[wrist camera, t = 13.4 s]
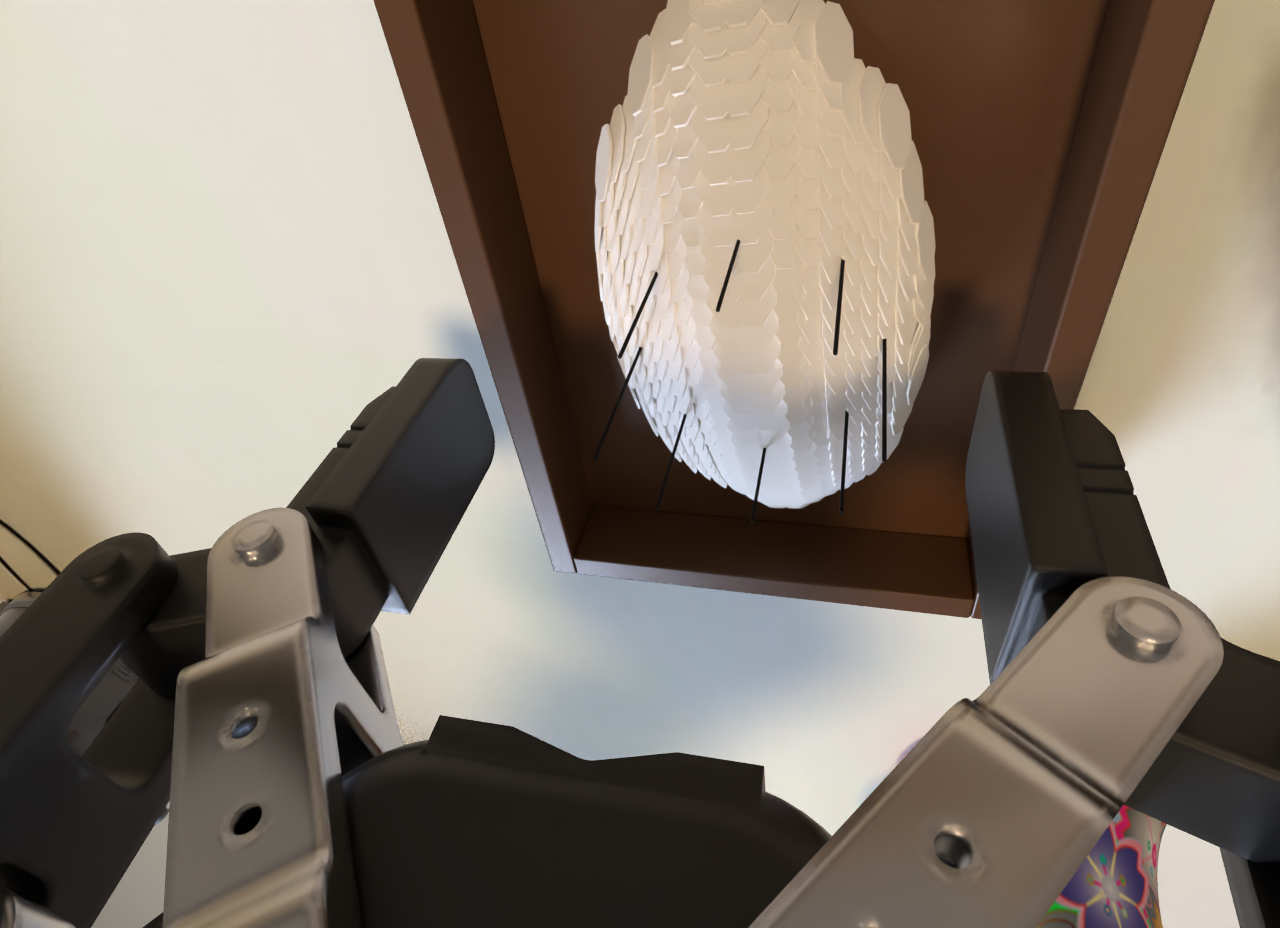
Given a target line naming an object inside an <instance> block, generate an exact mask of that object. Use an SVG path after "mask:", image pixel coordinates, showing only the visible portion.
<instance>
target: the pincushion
mask: <svg viewBox="0 0 1280 928" xmlns="http://www.w3.org/2000/svg"><path fill="white" fill-rule="evenodd" d="M595 186H596V201H595V229H594V234H595V251H596V259H597V270H598V280H599V290H600V299H601V301H602V302H603V308H604V314H605V320H606V323H607V325H608V327H609V333H610V337H611V341H612V342H613V344H614V347H615V349H616V352H617V355H618V356H617V358H618V361H619V364H620V366H621V369H622V371H623V374H624V376H625V379H626V380H625V383H624V385H623V387H622V390H621V392H620V395H619V397H618V399H617V402H616V404H615V407H614V409H613V411H612V414H611V416H610V419H609V421H608V423H607V426H606V428H605V430H604V433H603V435H602V438H601V440H600V442H599V445H598V447H597V450H596V452H595V454H594V457H593V459H592V460H593V461H594V462H595V461H596V460H597V457H598V455H599V452H600V450H601V448H602V445H603V443H604V440H605V438H606V435H607V433H608V431H609V428H610V426H611V423H612V421H613V418H614V416H615V414H616V411H617V409H618V406H619V404H620V401H621V399H622V397H623V394H624V392H625V389H626V387H627V384H628V386H629V388H630V391H631V393H632V396H633V398H634V400H635V403H636V405H637V407H638V409H640V405H639V402H640V404H641V407H642V409H643V411H644V413H645V416H646V418H647V420H648V422H649V424H650V426H651V428H652V430H653V432H654V433H655V435H656V436H659V435H660V436H661V438H662V439H663V441H664V443H665V444H666V446H667V447H668V448H669V450H670V451H671V452H672V455H671V458H670V461H669V465H668V468H667V471H666V475H665V478H664V481H663V484H662V488H661V491H660V494H659V497H658V501H657V504H656V507H655V510H654V513H657V512H658V509H659V506H660V502H661V499H662V496H663V492H664V489H665V486H666V482H667V479H668V476H669V473H670V469H671V466H672V463H673V459H674V456H675V458H676V459H677V460H678V461H679V462H681V461H682V459H683V460H684V461H685V463H686V464H687V465H688V466H689V467H690V469H691V470H692V471H693V472H694V473H695V474H696V473H697V469H698V470H699V472H700V473H702V474H703V476H704V477H706V478H707V479H708V480H710V479H711V477H712V478H713V479H714V481H715V482H717V483H718V484H719V485H720V486H722V487H724V488H725V489H726V487H727V484H728V485H729V486H730V487H731V488H732V489H733V490H735V491H737V492H739V493H741V494H745V495H746V496H748V497H749V498H750V499H752V500H754V503H753V509H752V514H751V520H750V522H751V523H754V518H755V512H756V506H757V501H759V502H761V503H763V504H764V505H766V506H768V507H771V508H786V507H787V508H792V509H801V508H804V507H806V506H808V505H810V504H811V503H816V502H819V501H820V500H821V499H823V498H824V497H825V496H829V495H831V494H834V493H836V492H837V491H838V490H840V507H839V513H840V514H843V508H844V490H845V489H846V488H848V487H850V486H851V484H852V483H853V482H855V483H856V482H858V481H860V480H862V479H863V478H864V477H865V476H866V475H868V476H869V475H871V474H872V473H874V472H875V471H876V470H877V469H878V467H879V466H880V464H881V463H882V462H886V461H887V459H888V458H889V456H890V455H891V454H892V452H893V451H894V449H895V448H896V447H897V445H898V444H899V441H900V438H901V435H902V433H903V430H904V428H903V427H904V425H905V423H906V421H907V419H908V417H909V415H910V413H911V411H912V407H913V403H914V400H915V399H916V396H917V394H918V391H919V389H920V387H921V384H922V382H923V379H924V376H925V372H926V368H927V364H928V359H929V349H928V346H929V341H930V328H931V319H930V315H931V309H932V303H933V297H934V288H933V286H934V280H935V260H934V256H935V247H936V246H935V233H934V221H933V216H932V213H931V211H930V208H929V206H928V203H927V201H924V187H923V173H922V165H921V162H920V159H919V156H918V153H917V150H916V147H915V144H914V141H912V138H911V125H910V112H909V109H908V107H907V105H906V102H905V100H904V98H903V96H902V93H901V91H900V89H899V86H898V85H897V84H892V83H887V84H886V82H885V80H884V78H883V76H882V74H881V72H880V69H879V68H876V67H870V66H868V67H867V68H866V67H865V65H864V63H863V61H862V59H856V58H854V46H853V30H852V28H851V26H850V24H849V22H848V20H847V18H846V16H845V14H844V12H843V10H842V8H841V6H840V4H837V3H833V2H829V1H827V3H826V4H825V3H824V1H823V0H668V1H667V7H666V9H664V10H663V11H662V12H660V13H659V14H658V16H657V19H656V21H655V24H654V26H653V29H652V31H651V34H650V36H648V35H647V34H646V35H645V36H643V37H642V38H641V39H640V40H639V42H638V45H637V48H636V51H635V54H634V57H633V60H632V63H631V66H630V70H629V82H628V93H627V95H626V96H625V99H624V103H623V106H622V105H620V104H619V105H617V106H616V107H615V108H614V110H613V114H612V118H611V122H610V126H609V124H605V125H604V126H603V127H602V130H601V134H600V139H599V143H598V148H597V153H596V171H595ZM614 335H615V337H616V339H615V337H614ZM616 341H617V342H616ZM633 389H634V390H635V392H636V394H637V397H638V399H639V402H638V400H637V397H636V395H635V392H634V390H633ZM658 433H659V435H658ZM681 457H682V459H681Z"/></svg>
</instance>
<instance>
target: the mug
mask: <svg viewBox="0 0 1280 928" xmlns="http://www.w3.org/2000/svg"><path fill="white" fill-rule="evenodd" d="M1165 827H1166V823H1164V822H1162V821H1159V820H1157V819H1155V818H1152V817H1150V816H1148V815H1146V814H1143V813H1141V812H1139V811H1136V810H1134V809H1132V808H1130V807H1127V806H1125V805H1123V806H1122V808H1121V809H1120V811H1119V812H1118V813H1117V815H1116V816H1115V818H1114V819H1113V821H1112V822H1111V823H1110V825H1109V826H1108V828H1107V829H1106V830H1105V832H1104V833H1103V835H1102V836H1101V837H1100V839H1099V840H1098V842H1097V843H1096V844H1095V846H1094V847H1093V849H1092V850H1091V852H1090V853H1089V854H1088V856H1087V857H1086V859H1085V860H1084V861H1083V863H1082V864H1081V866H1080V867H1079V868H1078V870H1077V871H1076V873H1075V874H1074V875H1073V877H1072V878H1071V880H1070V881H1069V883H1068V884H1067V885H1066V887H1065V888H1064V890H1063V891H1062V892H1061V894H1060V895H1059V897H1058V898H1057V899H1056V901H1055V902H1054V904H1053V905H1052V907H1051V908H1050V909H1049V911H1048V912H1047V914H1046V915H1045V916H1044V918H1043V919H1042V921H1041V922H1040V923H1039V925H1038V926H1037V928H1163V926H1162V921H1161V915H1160V908H1159V899H1158V883H1157V868H1158V854H1159V848H1160V843H1161V839H1162V835H1163V832H1164V830H1165Z"/></svg>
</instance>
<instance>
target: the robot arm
mask: <svg viewBox="0 0 1280 928" xmlns="http://www.w3.org/2000/svg"><path fill="white" fill-rule="evenodd" d="M494 447H495V439H494V432H493V428H492V425H491V422H490V419H489V416H488V413H487V411H486V408H485V405H484V402H483V399H482V396H481V393H480V390H479V387H478V385H477V382H476V379H475V376H474V373H473V370H472V368H471V366H470V364H469V363H468V362H467V361H466V360H464V359H438V358H421V359H418V360H417V361H416V362H415V363H414V364H413V365H412V367H411V368H410V369H409V371H408V372H407V373H406V375H405V376H404V377H403V378H402V380H401V381H400V382H399V384H398V385H397V386H396V387H391V388H390V389H388V390H387V391H386V392H384V393H383V394H382V395H380V396H379V397H377V398H376V399H375V400H373V401H372V402H370V403H369V404H368V405H367V406H366V407H365V408H364V409H363V411H362V412H361V413H360V415H359V416H358V417H357V418H356V420H355V421H354V422H353V424H352V425H351V430H347V431H346V432H345V434H344V435H343V436H342V438H341V439H340V440H339V441H338V443H337V448H333V449H332V450H331V452H330V453H329V454H328V455H327V457H326V458H325V459H324V460H323V462H322V463H321V464H320V466H319V467H318V468H317V469H316V471H315V472H314V473H313V474H312V476H311V477H310V478H309V480H308V481H307V482H306V483H305V485H304V486H303V487H302V488H301V490H300V491H299V492H298V494H297V495H296V496H295V497H294V499H293V500H292V501H291V503H290V504H289V505H288V506H287V508H273V509H268V510H264V511H261V512H257V513H255V514H253V515H250V516H248V517H246V518H244V519H242V520H241V521H239V522H237V523H236V524H234V525H233V526H232V527H230V528H229V529H228V530H227V531H225V532H224V533H223V534H222V535H221V536H220V537H219V539H218V540H217V541H216V542H215V544H214V545H213V547H212V548H210V549H205V550H199V551H194V552H188V553H183V554H177V555H172V556H169V555H168V554H167V553H166V552H165V551H164V549H163V548H162V547H161V546H160V545H159V544H158V542H157V541H156V540H155V539H154V538H153V537H152V536H150V535H148V534H145V533H127V534H122V535H118V536H115V537H112V538H109V539H107V540H104V541H102V542H100V543H98V544H96V545H94V546H93V547H91V548H89V549H88V550H86V551H85V552H83V553H82V554H80V555H79V556H78V557H77V558H75V559H74V560H73V561H72V562H71V563H70V564H69V565H68V566H67V567H66V568H65V569H64V570H63V571H62V572H61V573H60V574H59V575H58V576H57V577H56V578H55V579H54V581H53V582H52V583H51V584H50V585H49V586H48V587H47V588H46V589H45V590H44V591H43V592H25V593H22V594H19V595H18V596H17V597H16V598H15V599H13V600H12V601H11V602H1V603H0V928H91V926H92V925H93V923H94V922H95V920H96V918H97V917H98V915H99V913H100V912H101V910H102V909H103V907H104V906H105V904H106V902H107V901H108V899H109V897H110V896H111V894H112V893H113V891H114V889H115V888H116V886H117V885H118V883H119V881H120V880H121V878H122V877H123V875H124V873H125V872H126V870H127V868H128V867H129V865H130V864H131V862H132V860H133V859H134V857H135V856H136V854H137V852H138V851H139V849H140V847H141V846H142V844H143V843H144V841H145V839H146V838H147V836H148V835H149V833H150V831H151V830H152V828H153V826H154V825H155V823H156V822H157V820H158V818H159V817H160V815H161V814H162V812H163V810H164V809H165V807H166V806H167V804H168V802H169V801H170V806H169V824H168V842H167V861H166V878H165V897H164V912H163V913H161V914H160V915H159V916H158V917H156V918H155V919H153V920H152V921H151V922H149V923H148V924H147V925H146V926H144V927H143V928H1037V926H1038V925H1039V923H1040V922H1041V921H1042V919H1043V918H1044V916H1045V915H1046V914H1047V912H1048V911H1049V909H1050V908H1051V907H1052V905H1053V904H1054V902H1055V901H1056V899H1057V898H1058V897H1059V895H1060V894H1061V892H1062V891H1063V890H1064V888H1065V887H1066V885H1067V884H1068V883H1069V881H1070V880H1071V878H1072V877H1073V875H1074V874H1075V873H1076V871H1077V870H1078V868H1079V867H1080V866H1081V864H1082V863H1083V861H1084V860H1085V859H1086V857H1087V856H1088V854H1089V853H1090V852H1091V850H1092V849H1093V847H1094V846H1095V844H1096V843H1097V842H1098V840H1099V839H1100V837H1101V836H1102V835H1103V833H1104V832H1105V830H1106V829H1107V828H1108V826H1109V825H1110V823H1111V822H1112V821H1113V819H1114V818H1115V816H1116V815H1117V813H1118V812H1119V811H1120V809H1121V808H1122V806H1123V805H1125V806H1127V807H1130V808H1132V809H1134V810H1136V811H1139V812H1141V813H1143V814H1146V815H1148V816H1150V817H1152V818H1155V819H1157V820H1159V821H1162V822H1164V823H1166V824H1168V825H1171V826H1173V827H1175V828H1177V829H1180V830H1182V831H1184V832H1187V833H1189V834H1191V835H1193V836H1196V837H1198V838H1200V839H1203V840H1205V841H1207V842H1209V843H1212V844H1214V845H1216V846H1218V847H1220V851H1221V855H1222V859H1223V863H1224V867H1225V871H1226V874H1227V878H1228V882H1229V886H1230V890H1231V894H1232V898H1233V902H1234V906H1235V910H1236V913H1237V917H1238V921H1239V925H1240V928H1280V661H1277V660H1274V659H1271V658H1268V657H1265V656H1262V655H1259V654H1256V653H1253V652H1251V651H1248V650H1245V649H1243V648H1240V647H1238V646H1236V645H1234V644H1232V643H1230V642H1228V641H1226V640H1224V639H1222V638H1221V637H1220V635H1219V633H1218V631H1217V629H1216V628H1215V626H1214V624H1213V623H1212V622H1211V620H1210V619H1209V618H1208V617H1207V616H1206V614H1205V613H1203V612H1202V611H1201V610H1200V609H1199V608H1198V607H1197V606H1196V605H1195V604H1193V603H1192V602H1191V601H1189V600H1188V599H1186V598H1185V597H1183V596H1182V595H1180V594H1178V593H1176V592H1175V591H1173V590H1171V588H1170V586H1169V584H1168V581H1167V579H1166V576H1165V573H1164V570H1163V568H1162V565H1161V562H1160V559H1159V557H1158V554H1157V551H1156V548H1155V546H1154V543H1153V540H1152V537H1151V535H1150V532H1149V529H1148V526H1147V524H1146V521H1145V518H1144V515H1143V512H1142V510H1141V507H1140V504H1139V501H1138V499H1137V496H1136V495H1134V494H1133V491H1134V488H1133V485H1132V482H1131V479H1130V477H1129V474H1128V471H1125V463H1124V460H1123V457H1122V455H1121V452H1120V449H1119V446H1118V443H1117V441H1116V438H1115V436H1114V435H1113V434H1112V433H1111V432H1110V431H1109V430H1108V429H1107V428H1106V427H1105V426H1104V425H1103V424H1102V423H1101V422H1100V421H1099V420H1098V419H1097V418H1096V417H1095V416H1094V415H1093V414H1092V413H1091V412H1090V411H1089V410H1069V409H1060V407H1059V404H1058V401H1057V397H1056V394H1055V390H1054V387H1053V383H1052V380H1051V377H1050V375H1049V373H1047V372H1015V371H988V372H987V374H986V376H985V379H984V382H983V386H982V391H981V395H980V400H979V404H978V409H977V414H976V418H975V423H974V427H973V432H972V436H971V441H970V445H969V450H968V455H967V462H966V474H965V491H966V501H967V509H968V516H969V524H970V532H971V540H972V547H973V555H974V563H975V570H976V578H977V586H978V594H979V601H980V609H981V617H982V624H983V632H984V640H985V648H986V655H987V663H988V671H989V678H990V686H989V687H988V688H987V689H986V690H985V691H984V692H983V693H982V694H981V695H980V696H979V697H978V698H977V699H976V700H974V701H971V700H969V699H967V698H965V699H962V700H961V701H959V702H958V703H956V704H955V705H954V706H953V707H952V708H950V709H949V710H948V711H947V712H946V713H945V714H944V715H943V716H942V717H941V719H940V720H939V721H938V722H937V723H936V724H935V725H934V726H933V727H932V728H931V729H930V731H929V732H928V733H927V734H926V735H925V736H924V737H923V738H922V739H921V740H920V741H919V742H918V744H917V745H916V746H915V747H914V748H913V749H912V750H911V751H910V752H909V753H908V754H907V756H906V757H905V758H904V759H903V760H902V761H901V762H900V763H899V764H898V765H897V766H896V767H895V769H894V770H893V771H892V772H891V773H890V774H889V775H888V776H887V777H886V778H885V779H884V781H883V782H882V783H881V784H880V785H879V786H878V787H877V788H876V789H875V790H874V791H873V792H872V794H871V795H870V796H869V797H868V798H867V799H866V800H865V801H864V802H863V803H862V804H861V805H860V807H859V808H858V809H857V810H856V811H855V812H854V813H853V814H852V815H851V816H850V817H849V819H848V820H847V821H846V822H845V823H844V824H843V825H842V826H841V827H840V828H839V829H838V830H837V832H836V833H835V834H834V835H833V836H831V835H830V834H829V833H828V832H827V831H826V830H825V829H824V828H823V827H821V826H820V825H819V824H818V823H816V822H815V821H814V820H813V819H811V818H810V817H809V816H808V815H806V814H805V813H804V812H802V811H800V810H799V809H797V808H796V807H794V806H792V805H791V804H789V803H787V802H786V801H784V800H782V799H780V798H778V797H776V796H774V795H772V794H769V793H767V792H765V777H764V766H760V765H754V764H747V763H741V762H735V761H728V760H722V759H715V758H709V757H703V756H696V755H690V754H684V753H667V754H657V755H647V756H637V757H626V758H616V759H606V760H596V761H589V760H583V759H580V758H578V757H576V756H573V755H571V754H569V753H567V752H565V751H563V750H561V749H559V748H557V747H554V746H552V745H550V744H548V743H546V742H544V741H542V740H540V739H538V738H535V737H533V736H531V735H529V734H527V733H525V732H523V731H521V730H519V729H516V728H514V727H511V726H505V725H499V724H492V723H486V722H480V721H473V720H467V719H460V718H454V717H448V716H441V715H440V716H439V718H438V721H437V723H436V725H435V727H434V729H433V732H432V734H431V736H430V738H429V740H424V741H419V742H415V743H411V744H407V745H405V744H404V741H403V739H402V736H401V734H400V731H399V728H398V724H397V720H396V715H395V710H394V705H393V700H392V696H391V691H390V686H389V681H388V676H387V672H386V667H385V662H384V657H383V652H382V648H381V643H380V638H379V635H378V632H377V630H376V629H375V627H374V625H373V623H374V621H375V620H376V618H377V616H378V614H379V613H380V611H386V612H395V613H403V614H410V613H411V611H412V609H413V607H414V605H415V603H416V602H417V600H418V598H419V596H420V594H421V592H422V590H423V589H424V587H425V585H426V583H427V581H428V579H429V578H430V576H431V574H432V572H433V570H434V568H435V566H436V565H437V563H438V561H439V559H440V557H441V555H442V554H443V552H444V550H445V548H446V546H447V544H448V542H449V541H450V539H451V537H452V535H453V533H454V531H455V530H456V528H457V526H458V524H459V522H460V520H461V518H462V517H463V515H464V513H465V511H466V509H467V507H468V506H469V504H470V502H471V500H472V498H473V496H474V495H475V493H476V491H477V489H478V487H479V485H480V483H481V482H482V480H483V478H484V476H485V474H486V472H487V471H488V469H489V467H490V465H491V462H492V459H493V455H494Z"/></svg>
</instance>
